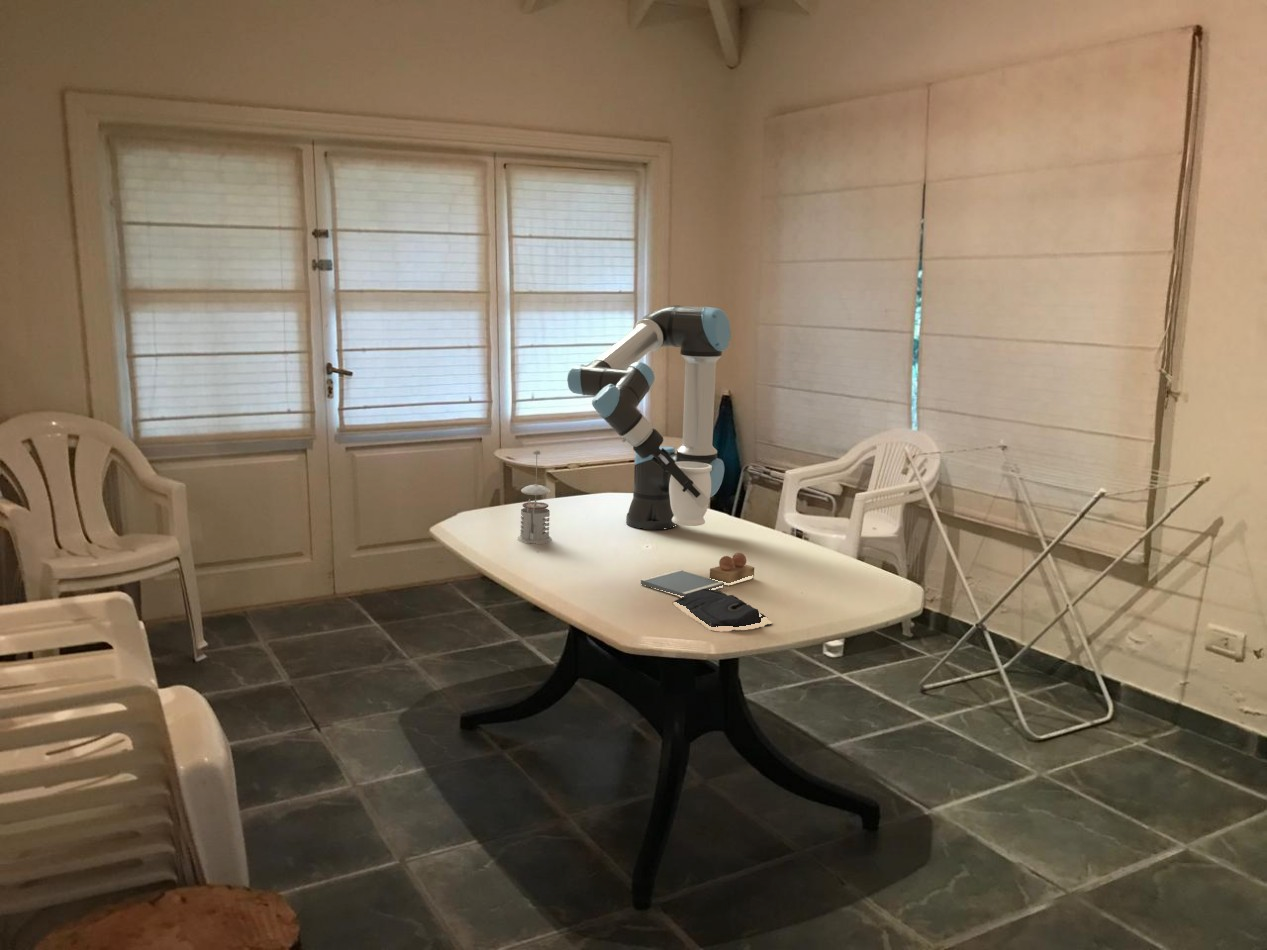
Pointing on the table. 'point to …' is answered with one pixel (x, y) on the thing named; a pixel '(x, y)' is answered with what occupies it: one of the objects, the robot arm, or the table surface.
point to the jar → (682, 502)
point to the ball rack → (732, 569)
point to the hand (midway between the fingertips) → (700, 499)
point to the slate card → (680, 582)
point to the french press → (535, 515)
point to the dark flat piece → (720, 608)
